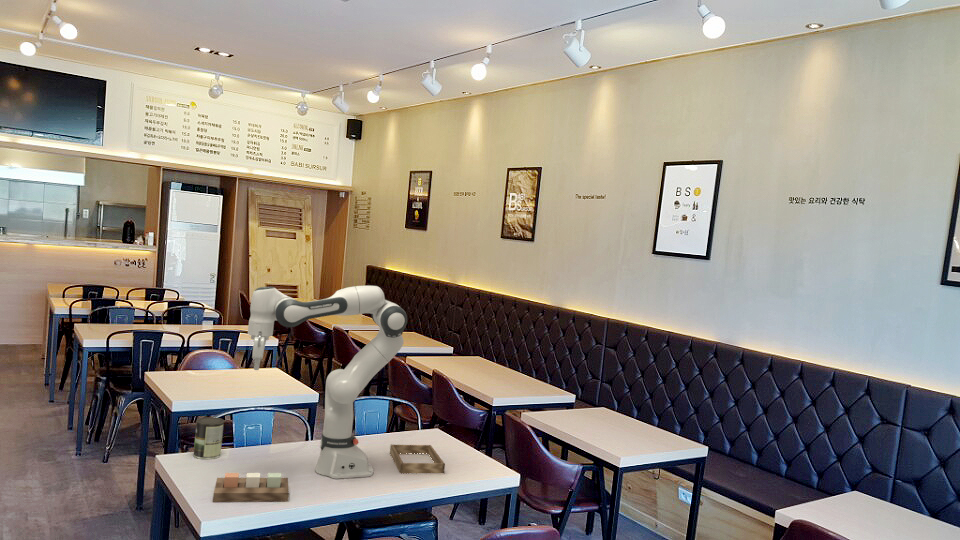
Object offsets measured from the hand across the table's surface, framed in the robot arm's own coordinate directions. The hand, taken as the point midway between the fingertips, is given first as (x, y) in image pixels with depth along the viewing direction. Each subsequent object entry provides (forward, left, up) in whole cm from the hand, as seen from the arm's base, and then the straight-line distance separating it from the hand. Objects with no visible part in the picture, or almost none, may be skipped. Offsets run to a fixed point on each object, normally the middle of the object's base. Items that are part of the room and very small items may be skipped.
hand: (256, 367), depth 251 cm
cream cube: (-2, +18, -38) cm, 42 cm away
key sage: (-9, +18, -38) cm, 43 cm away
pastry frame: (-67, -16, -41) cm, 80 cm away
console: (-2, +18, -41) cm, 44 cm away
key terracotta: (+5, +18, -38) cm, 42 cm away
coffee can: (+16, -24, -41) cm, 50 cm away
